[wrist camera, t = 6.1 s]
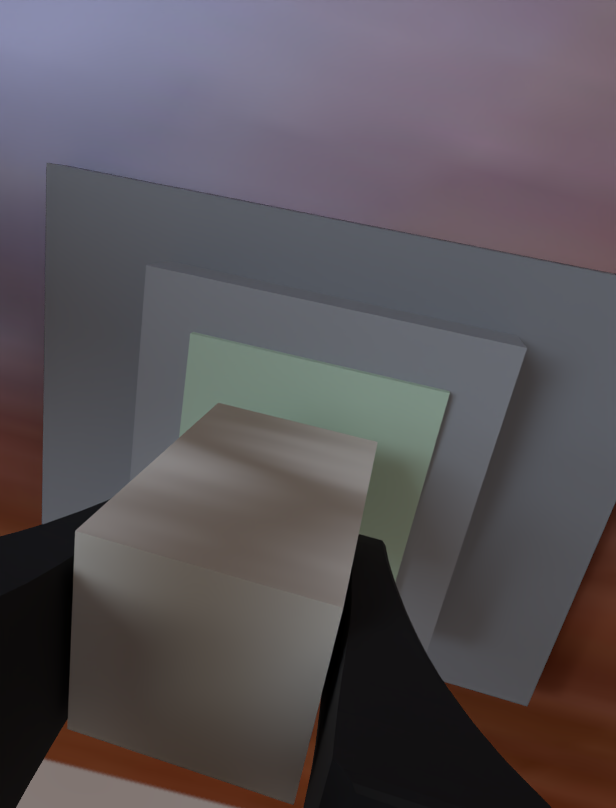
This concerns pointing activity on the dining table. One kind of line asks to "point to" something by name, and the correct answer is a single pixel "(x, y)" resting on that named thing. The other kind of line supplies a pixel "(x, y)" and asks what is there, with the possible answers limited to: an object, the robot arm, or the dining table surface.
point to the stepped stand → (348, 389)
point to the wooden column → (219, 597)
